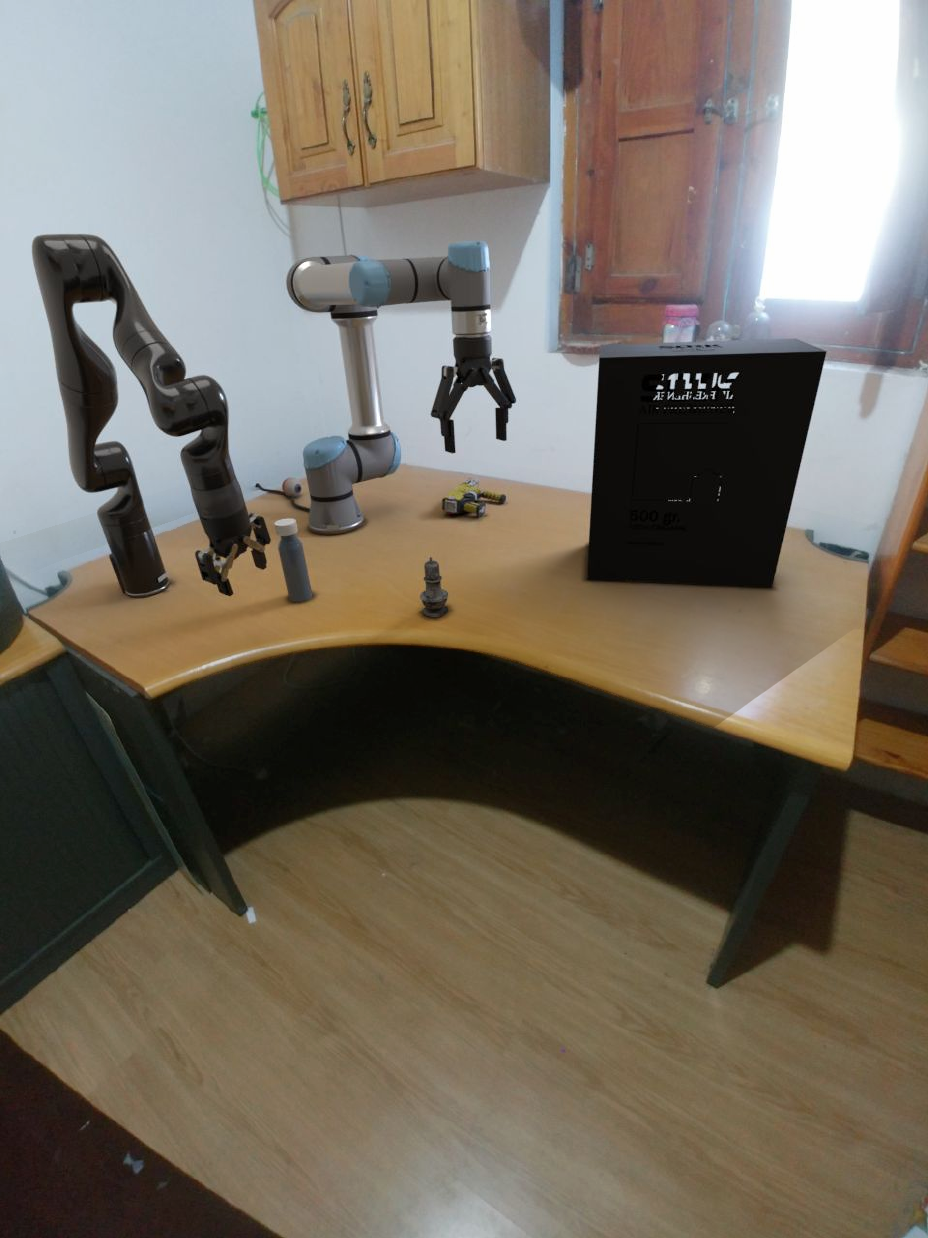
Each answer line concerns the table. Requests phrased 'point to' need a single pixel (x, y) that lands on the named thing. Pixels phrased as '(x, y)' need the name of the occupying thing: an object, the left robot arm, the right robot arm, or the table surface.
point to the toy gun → (468, 499)
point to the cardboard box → (698, 459)
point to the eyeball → (292, 487)
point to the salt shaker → (433, 591)
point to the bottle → (294, 568)
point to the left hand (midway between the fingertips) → (245, 580)
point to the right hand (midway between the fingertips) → (476, 445)
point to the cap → (286, 527)
